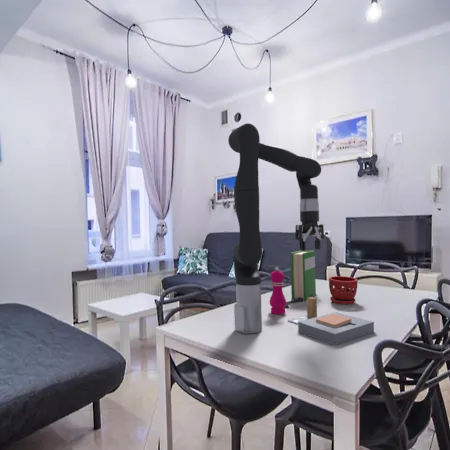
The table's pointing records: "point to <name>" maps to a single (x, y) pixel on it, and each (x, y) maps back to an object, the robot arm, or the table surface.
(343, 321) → the tile
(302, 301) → the bracket
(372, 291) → the table surface
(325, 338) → the tile stand
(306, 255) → the hardback book
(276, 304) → the pepper mill
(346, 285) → the plant pot
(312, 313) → the trowel
